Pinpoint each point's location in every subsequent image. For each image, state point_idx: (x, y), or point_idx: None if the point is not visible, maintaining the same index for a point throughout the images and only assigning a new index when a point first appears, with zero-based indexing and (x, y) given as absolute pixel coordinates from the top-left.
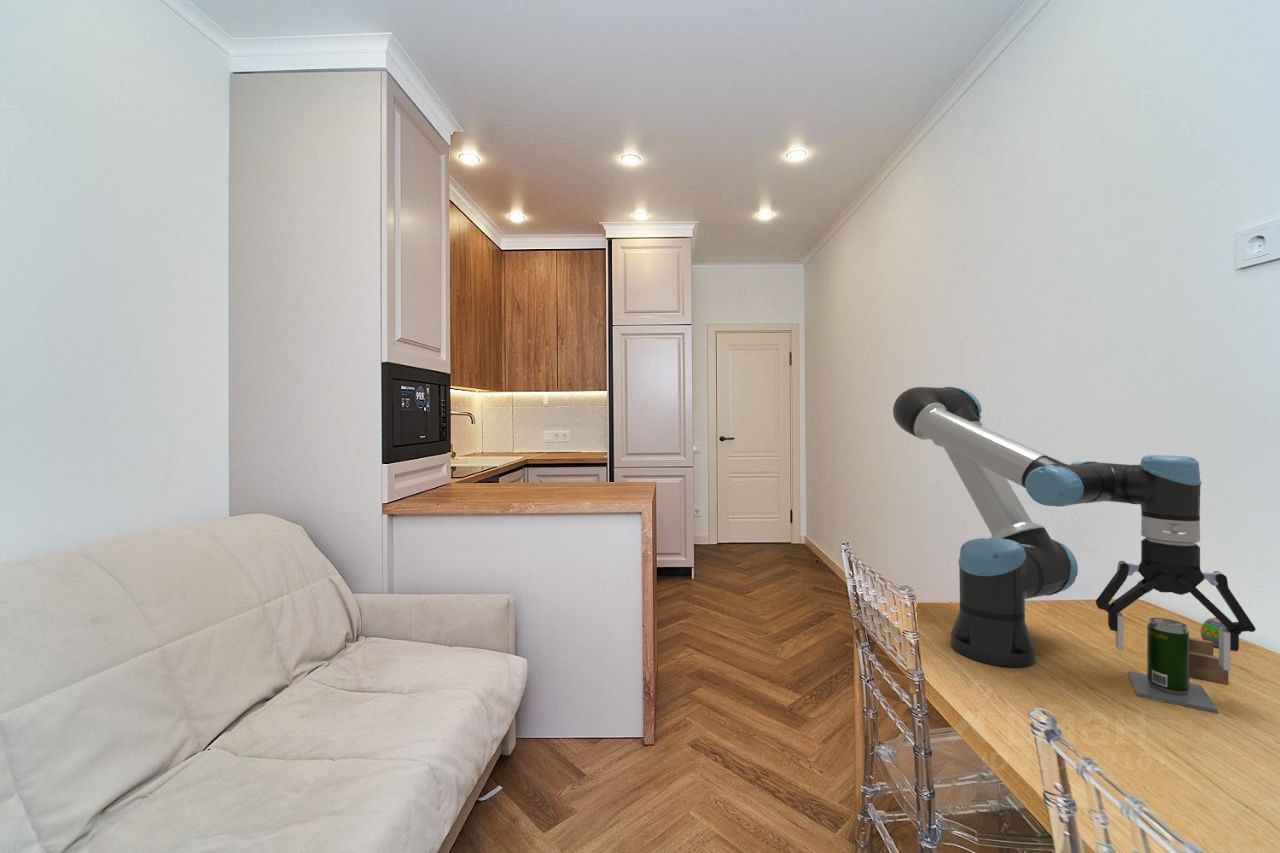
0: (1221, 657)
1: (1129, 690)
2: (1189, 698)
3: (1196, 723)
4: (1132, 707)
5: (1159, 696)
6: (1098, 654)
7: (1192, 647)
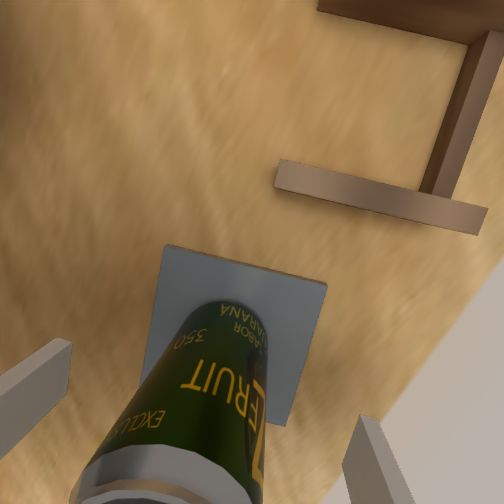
0: (360, 476)
1: (135, 357)
2: None
3: None
4: None
5: None
6: (131, 96)
7: (468, 1)
